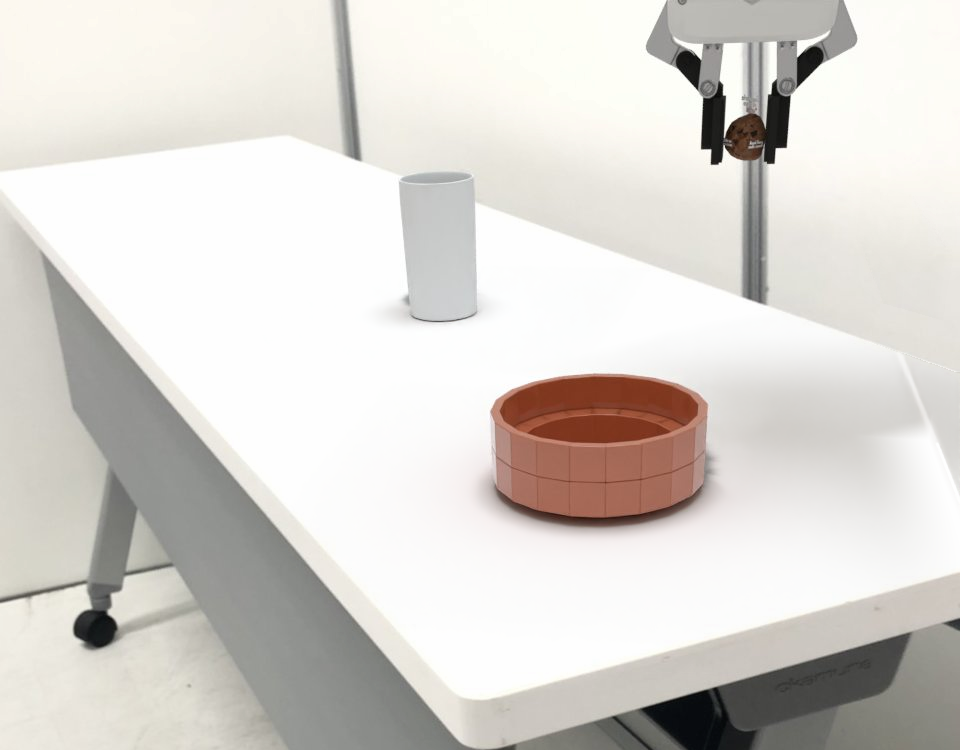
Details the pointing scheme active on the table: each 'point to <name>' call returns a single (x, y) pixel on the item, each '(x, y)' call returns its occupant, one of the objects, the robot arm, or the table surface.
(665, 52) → the robot arm
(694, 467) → the bowl
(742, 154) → the chocolate
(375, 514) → the table surface
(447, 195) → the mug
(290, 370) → the table surface
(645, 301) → the table surface
